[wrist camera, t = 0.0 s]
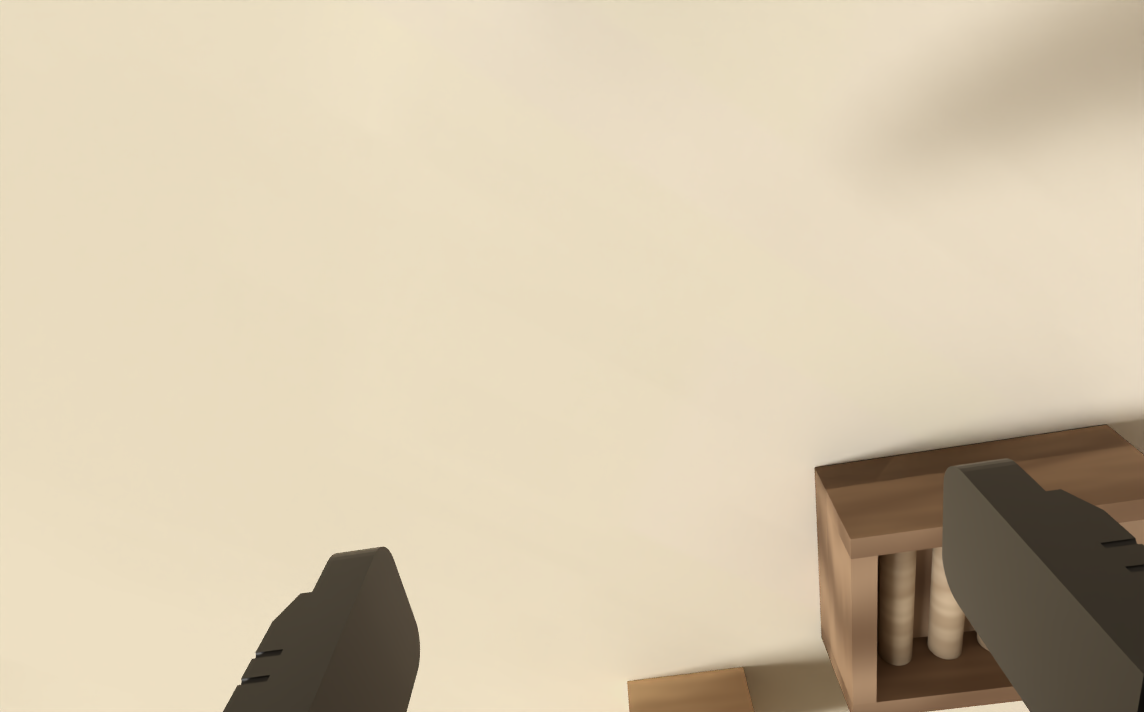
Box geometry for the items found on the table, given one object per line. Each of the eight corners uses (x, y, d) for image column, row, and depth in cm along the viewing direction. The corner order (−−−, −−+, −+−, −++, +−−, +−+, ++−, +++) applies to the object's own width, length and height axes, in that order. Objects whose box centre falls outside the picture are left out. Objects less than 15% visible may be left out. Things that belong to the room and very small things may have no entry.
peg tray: (814, 467, 31) (850, 539, 27) (1107, 424, 29) (1190, 492, 25) (821, 637, 35) (853, 720, 31) (1073, 605, 34) (1140, 686, 30)
